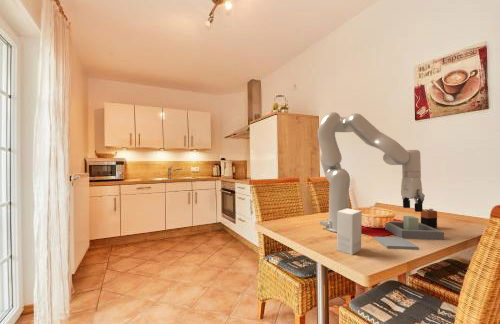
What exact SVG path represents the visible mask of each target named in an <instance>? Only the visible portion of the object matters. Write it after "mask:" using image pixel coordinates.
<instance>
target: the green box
mask: <svg viewBox="0 0 500 324" xmlns="http://www.w3.org/2000/svg"><path fill="white" fill-rule="evenodd" d="M402 218H403V221H402V222H403V229H404V230H418V224H419V220H420V219H419V217H417V216H415V215H414V216H413V215H403V217H402Z"/></svg>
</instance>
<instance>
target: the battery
mask: <svg viewBox="0 0 500 324" xmlns="http://www.w3.org/2000/svg"><path fill="white" fill-rule="evenodd" d="M420 223H422V224H425V225H427V226H430V227H432V228H435V229H437V228H438V211H437V210H434V208H428V209H427V208H424V209H423V211H422V212H420Z"/></svg>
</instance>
